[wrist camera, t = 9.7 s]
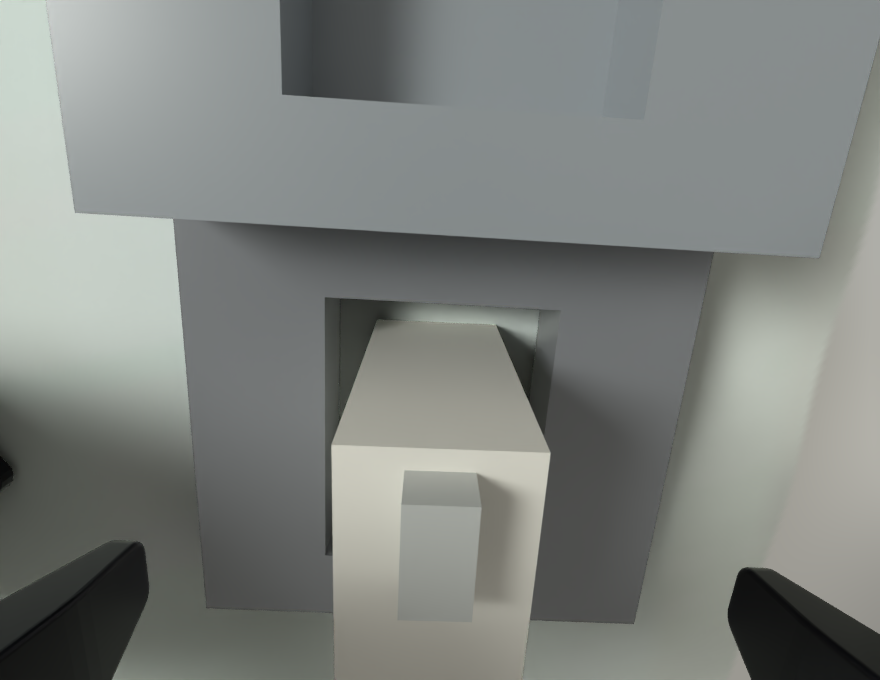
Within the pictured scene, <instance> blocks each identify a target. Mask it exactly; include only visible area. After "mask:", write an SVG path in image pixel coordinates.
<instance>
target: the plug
mask: <svg viewBox="0 0 880 680" xmlns="http://www.w3.org/2000/svg"><path fill="white" fill-rule="evenodd" d="M331 454H332V535H333V617H334V680H522V677H523V669H524V661H525V653H526V645H527V637H528V630H529V622H530V614H531V606H532V598H533V590H534V582H535V574H536V566H537V558H538V550H539V542H540V534H541V526H542V518H543V510H544V502H545V494H546V486H547V478H548V470H549V462H550V454H551V453H550V450H549V448H548V446H547V443H546V441H545V439H544V436H543V434H542V432H541V429H540V427H539V425H538V422H537V420H536V418H535V415H534V413H533V411H532V408H531V406H530V404H529V401H528V399H527V397H526V394H525V392H524V390H523V387H522V385H521V383H520V380H519V378H518V375H517V373H516V371H515V368H514V366H513V364H512V361H511V359H510V357H509V354H508V352H507V350H506V347H505V345H504V343H503V340H502V338H501V336H500V333H499V331H498V329H497V326H496V325H491V324H468V323H445V322H422V321H399V320H377V322H376V325H375V327H374V330H373V333H372V336H371V338H370V341H369V344H368V347H367V349H366V352H365V355H364V357H363V360H362V363H361V366H360V368H359V371H358V374H357V376H356V379H355V382H354V385H353V387H352V390H351V393H350V396H349V398H348V401H347V404H346V406H345V409H344V412H343V415H342V417H341V420H340V423H339V426H338V428H337V431H336V434H335V436H334V439H333V442H332V445H331Z"/></svg>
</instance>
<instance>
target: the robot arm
mask: <svg viewBox="0 0 880 680" xmlns="http://www.w3.org/2000/svg"><path fill="white" fill-rule="evenodd" d="M13 476H14V474H13V471H12V468H11V467H10V465H9V464H8V463H7V462H6V461H5V460H4V459H3V458H2V457H0V492H1V491H3V490H4V489H5V488H6V487H8V486H9V485H10V484H11V482H12V481H13ZM148 594H149V581H148V573H147V564H146V556H145V550H144V546H143V545H142V543H140V542H138V541H126V540H113V541H110V542H108V543H106V544H104V545H102V546H100V547H98V548H96V549H95V550H93V551H91V552H89V553H87V554H85V555H83V556H82V557H80V558H78V559H76V560H74V561H72V562H71V563H69V564H67V565H65V566H63V567H61V568H60V569H58V570H56V571H54V572H52V573H50V574H49V575H47V576H45V577H43V578H41V579H39V580H38V581H36V582H34V583H32V584H30V585H28V586H27V587H25V588H23V589H21V590H19V591H17V592H15V593H14V594H12V595H10V596H8V597H6V598H4V599H3V600H1V601H0V680H112V678H113V676H114V674H115V671H116V669H117V667H118V665H119V663H120V660H121V658H122V656H123V654H124V651H125V649H126V647H127V645H128V642H129V640H130V638H131V636H132V634H133V631H134V629H135V627H136V625H137V622H138V620H139V618H140V616H141V613H142V611H143V609H144V607H145V604H146V602H147V598H148ZM728 622H729V626H730V629H731V631H732V634H733V636H734V639H735V641H736V644H737V646H738V648H739V651H740V653H741V656H742V658H743V661H744V663H745V665H746V668H747V670H748V673H749V675H750V677H751V680H880V634H878V633H877V632H875V631H873V630H872V629H870V628H868V627H866V626H865V625H863V624H862V623H860V622H858V621H857V620H855V619H853V618H852V617H850V616H848V615H847V614H845V613H843V612H842V611H840V610H839V609H837V608H835V607H833V606H832V605H830V604H829V603H827V602H825V601H823V600H822V599H820V598H819V597H817V596H815V595H814V594H812V593H810V592H809V591H807V590H805V589H804V588H802V587H800V586H799V585H797V584H795V583H794V582H792V581H790V580H789V579H787V578H785V577H784V576H782V575H780V574H779V573H777V572H775V571H774V570H771V569H768V568H752V567H746V568H743V569H741V570H740V571H739V573H738V575H737V578H736V582H735V586H734V589H733V593H732V596H731V600H730V604H729V607H728Z"/></svg>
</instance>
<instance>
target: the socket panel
mask: <svg viewBox="0 0 880 680" xmlns="http://www.w3.org/2000/svg"><path fill="white" fill-rule="evenodd" d="M46 7H47V15H48V22H49V29H50V36H51V43H52V51H53V58H54V65H55V72H56V80H57V87H58V94H59V101H60V108H61V116H62V123H63V130H64V137H65V145H66V152H67V159H68V166H69V173H70V181H71V188H72V195H73V202H74V209H75V213H89V214H105V215H121V216H138V217H154V218H170V219H173V221H174V233H175V245H176V256H177V268H178V280H179V291H180V303H181V315H182V327H183V338H184V350H185V362H186V374H187V385H188V397H189V409H190V421H191V432H192V444H193V456H194V467H195V479H196V491H197V503H198V514H199V526H200V538H201V550H202V561H203V573H204V585H205V597H206V608H216V609H244V610H271V611H298V612H325V613H333V535H332V454H331V445H332V442H333V439H334V436H335V434H336V431H337V428H338V426H339V387H340V298H349V299H366V300H384V301H401V302H419V303H436V304H454V305H472V306H489V307H507V308H524V309H540V313H539V322H538V330H537V338H536V346H535V355H534V363H533V371H532V379H531V388H530V396H529V404H530V406H531V408H532V411H533V413H534V415H535V418H536V420H537V422H538V425H539V427H540V429H541V432H542V434H543V436H544V439H545V441H546V443H547V446H548V448H549V450H550V453H551V454H550V462H549V470H548V478H547V486H546V494H545V502H544V510H543V518H542V526H541V534H540V542H539V550H538V558H537V566H536V574H535V582H534V590H533V598H532V606H531V614H530V620H542V621H570V622H597V623H624V624H634V621H635V617H636V612H637V607H638V603H639V598H640V593H641V589H642V584H643V579H644V575H645V570H646V565H647V561H648V556H649V552H650V547H651V542H652V538H653V533H654V528H655V524H656V519H657V514H658V510H659V505H660V500H661V496H662V491H663V486H664V482H665V477H666V472H667V468H668V463H669V458H670V454H671V449H672V444H673V440H674V435H675V430H676V426H677V421H678V416H679V412H680V407H681V402H682V398H683V393H684V388H685V384H686V379H687V374H688V370H689V365H690V360H691V356H692V351H693V346H694V342H695V337H696V333H697V328H698V323H699V319H700V314H701V309H702V305H703V300H704V295H705V291H706V286H707V281H708V277H709V272H710V267H711V263H712V258H713V253H714V252H725V253H742V254H758V255H774V256H791V257H807V258H820V254H821V250H822V247H823V243H824V239H825V236H826V232H827V228H828V225H829V221H830V218H831V214H832V210H833V207H834V203H835V199H836V196H837V192H838V188H839V185H840V181H841V177H842V174H843V170H844V166H845V163H846V159H847V156H848V152H849V148H850V145H851V141H852V137H853V134H854V130H855V126H856V123H857V119H858V115H859V112H860V108H861V105H862V101H863V97H864V94H865V90H866V86H867V83H868V79H869V75H870V72H871V68H872V64H873V61H874V57H875V54H876V50H877V46H878V43H879V39H880V0H46Z"/></svg>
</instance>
